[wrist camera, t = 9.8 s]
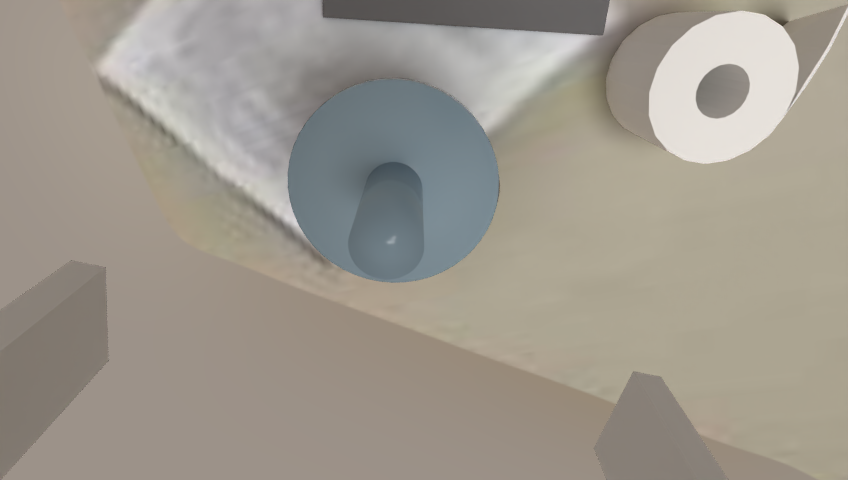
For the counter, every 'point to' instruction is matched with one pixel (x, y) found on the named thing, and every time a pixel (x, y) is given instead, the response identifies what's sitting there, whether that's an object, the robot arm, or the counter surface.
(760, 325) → the counter surface
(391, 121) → the lid
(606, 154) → the counter surface
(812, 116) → the counter surface
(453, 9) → the mat
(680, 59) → the toilet paper
